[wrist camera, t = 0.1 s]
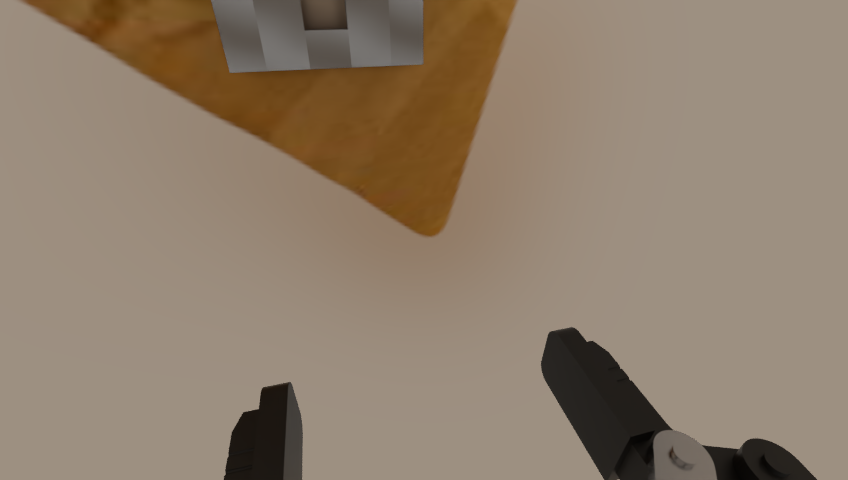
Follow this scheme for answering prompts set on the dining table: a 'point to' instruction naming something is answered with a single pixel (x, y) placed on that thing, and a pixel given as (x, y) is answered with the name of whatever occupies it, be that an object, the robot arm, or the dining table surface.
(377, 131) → the dining table surface
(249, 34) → the keyhole plate
